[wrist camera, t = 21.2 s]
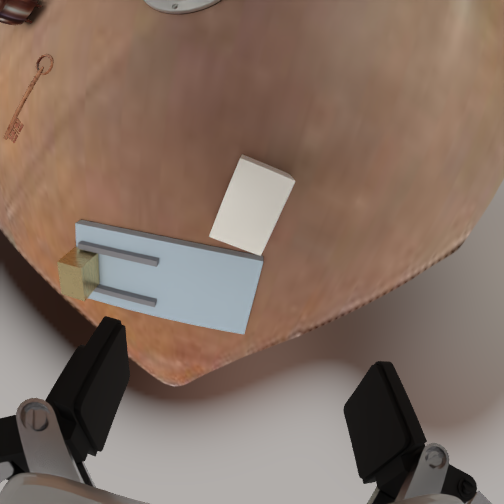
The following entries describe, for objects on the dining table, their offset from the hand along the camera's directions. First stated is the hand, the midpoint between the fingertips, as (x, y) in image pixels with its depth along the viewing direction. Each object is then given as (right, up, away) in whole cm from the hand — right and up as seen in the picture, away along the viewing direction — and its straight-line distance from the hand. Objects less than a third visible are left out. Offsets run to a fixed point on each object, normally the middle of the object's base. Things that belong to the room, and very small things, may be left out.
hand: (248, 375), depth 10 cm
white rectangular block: (0, +11, +24) cm, 27 cm away
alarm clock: (-35, +43, +10) cm, 57 cm away
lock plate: (-12, +1, +28) cm, 31 cm away
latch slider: (-23, +3, +26) cm, 35 cm away
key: (-33, +27, +18) cm, 46 cm away
